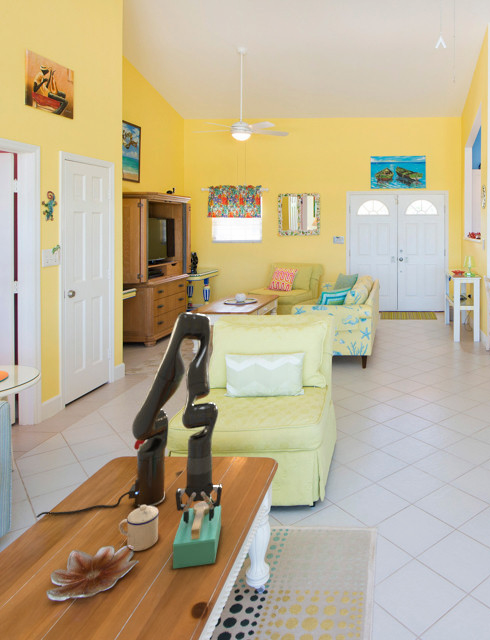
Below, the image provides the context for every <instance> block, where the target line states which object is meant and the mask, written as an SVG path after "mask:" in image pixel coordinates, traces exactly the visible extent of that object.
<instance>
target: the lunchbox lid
mask: <svg viewBox="0 0 490 640" xmlns="http://www.w3.org/2000/svg"><path fill="white" fill-rule="evenodd" d="M220 510H221V511H222V504H220V505H219V506H218V507H217V506H216V507H215V508H214V517H213V519H212V520H211V521H209V514H207V515H205V516H204V520H203V524H202V529H201V533H200V537H199V539H194V540H191V530H192V526H193V522H194V518H195V516H194V515H193V507H189V522H188V523H187V524H186V522H184V521H183V514H182V515H181V518H180V522H179V524H178V527H177V531H176V534H175V536H174V540H173V543H172V548H173V547H175V546H183V545H191V544H200V543H208V542H215V537H216V532H217V526H218V521H219V516H220Z"/></svg>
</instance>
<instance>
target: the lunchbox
mask: <svg viewBox="0 0 490 640" xmlns="http://www.w3.org/2000/svg"><path fill="white" fill-rule="evenodd" d="M221 528H222V509H221V510H220V516H219V521H218V526H217V532H216V537H215V542H208V543H200V544H191V545H183V546H175V547H173V546H172V551H173V552H172V569H182V568H189V567H195V566H204V565H212V564H215V563H216V557H217V552H218V545H219V540H220V535H221Z"/></svg>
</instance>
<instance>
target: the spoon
mask: <svg viewBox="0 0 490 640" xmlns="http://www.w3.org/2000/svg"><path fill="white" fill-rule="evenodd" d="M192 508H193V515H194V516H195V518H194V522H193V526H192V530H191V540H194V539H199V537H200V533H201V529H202V524H203V520H204V516H205V515H207V514H209V506H208V504H206V502H205V500H204V501H197V502H195V504H194V505H193V506H192Z"/></svg>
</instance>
